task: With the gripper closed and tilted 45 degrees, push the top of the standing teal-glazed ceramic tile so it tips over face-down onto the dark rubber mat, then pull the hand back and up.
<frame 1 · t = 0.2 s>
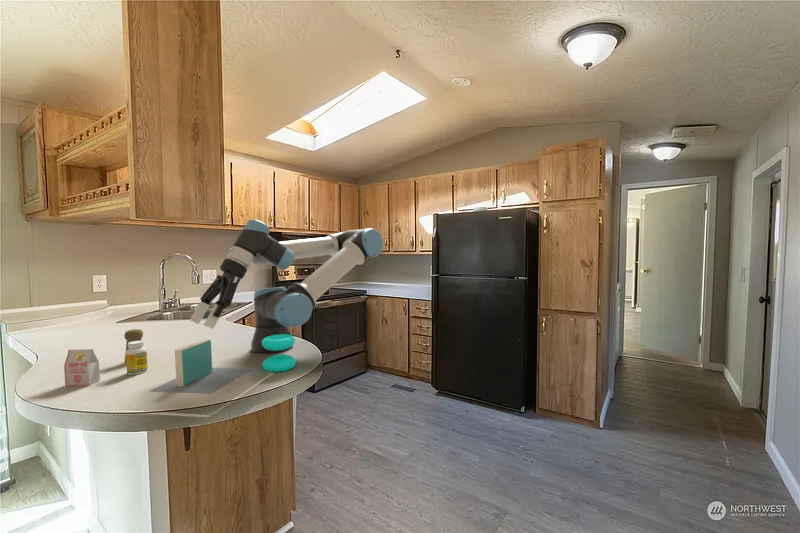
hand: (200, 324, 111), 15 cm above the counter, tool tilted 35°, fingers open, 13 cm apart
supplement bottle: (137, 373, 116), on the counter
white gable carton: (83, 384, 107), on the counter
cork: (135, 362, 128), on the counter
donuts: (279, 368, 117), on the counter
tile: (195, 378, 107), resting on mat
mat: (204, 380, 107), on the counter
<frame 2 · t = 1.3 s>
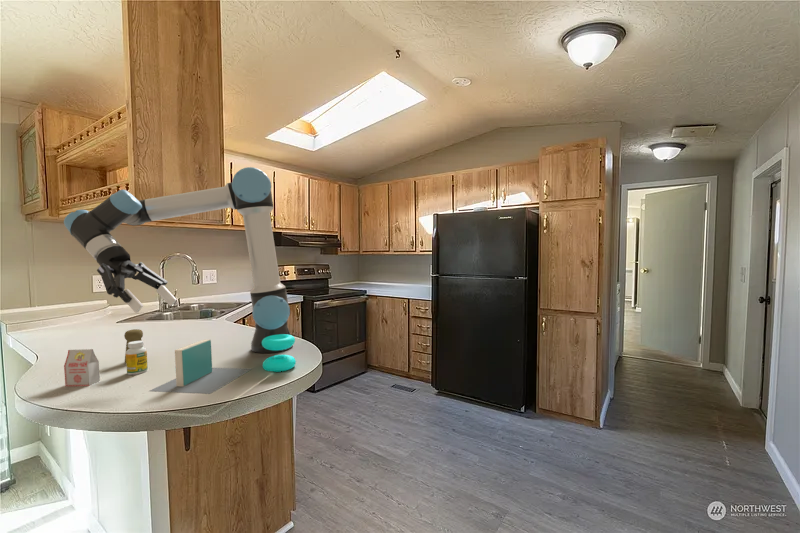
hand: (157, 305, 108), 22 cm above the counter, tool tilted 45°, fingers open, 12 cm apart
nothing on the counter moved.
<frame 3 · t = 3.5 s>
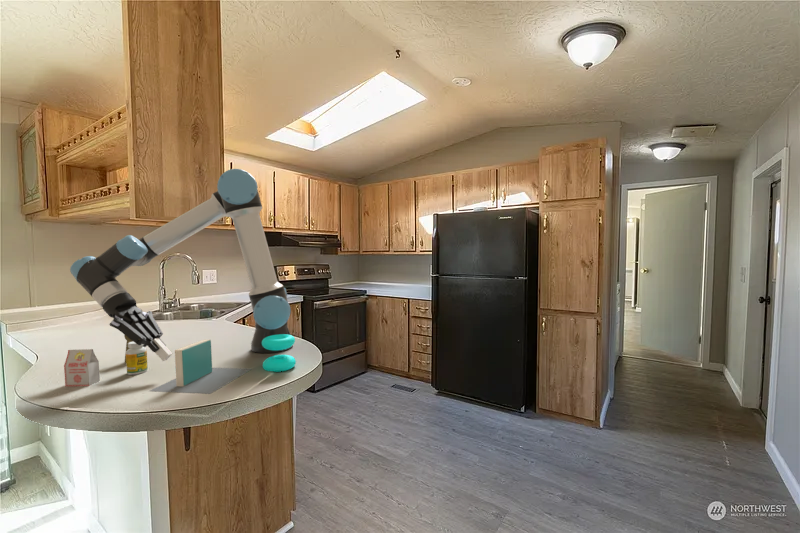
hand: (167, 357, 108), 7 cm above the counter, tool tilted 45°, fingers closed
nothing on the counter moved.
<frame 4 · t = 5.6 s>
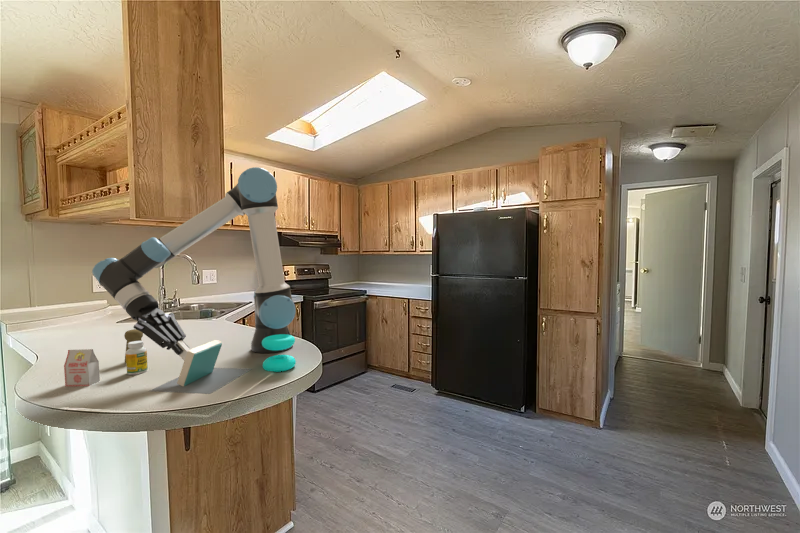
hand: (191, 360, 107), 6 cm above the counter, tool tilted 45°, fingers closed
tile: (195, 377, 107), point 1 cm above the counter, tilted 22°, touching mat
everything else where it was.
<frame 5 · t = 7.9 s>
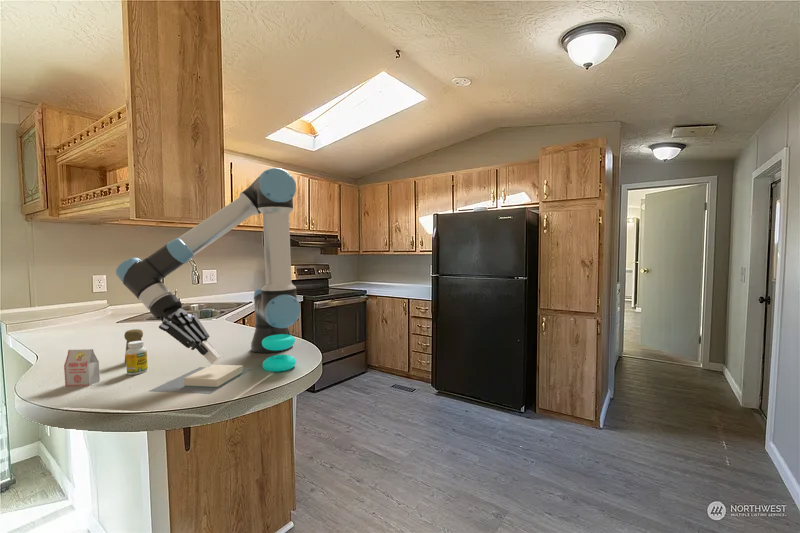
hand: (216, 360, 106), 6 cm above the counter, tool tilted 45°, fingers closed
tile: (198, 374, 107), point 2 cm above the counter, tilted 90°, touching mat
everything else where it was.
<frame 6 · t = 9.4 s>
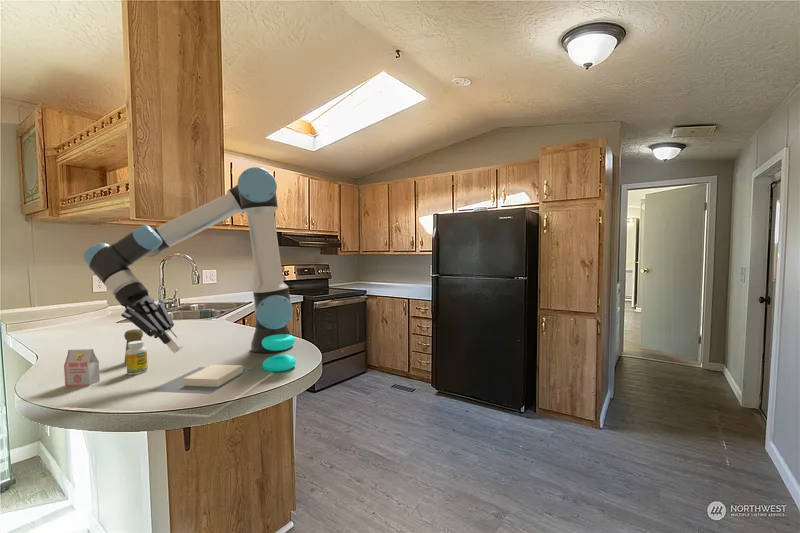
hand: (178, 349, 108), 9 cm above the counter, tool tilted 40°, fingers closed
nothing on the counter moved.
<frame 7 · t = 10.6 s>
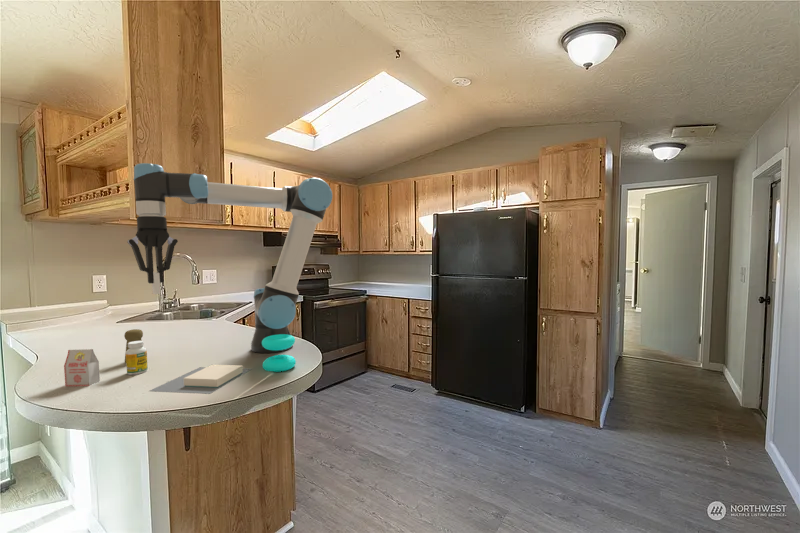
hand: (156, 293, 114), 25 cm above the counter, tool pointing down, fingers closed
nothing on the counter moved.
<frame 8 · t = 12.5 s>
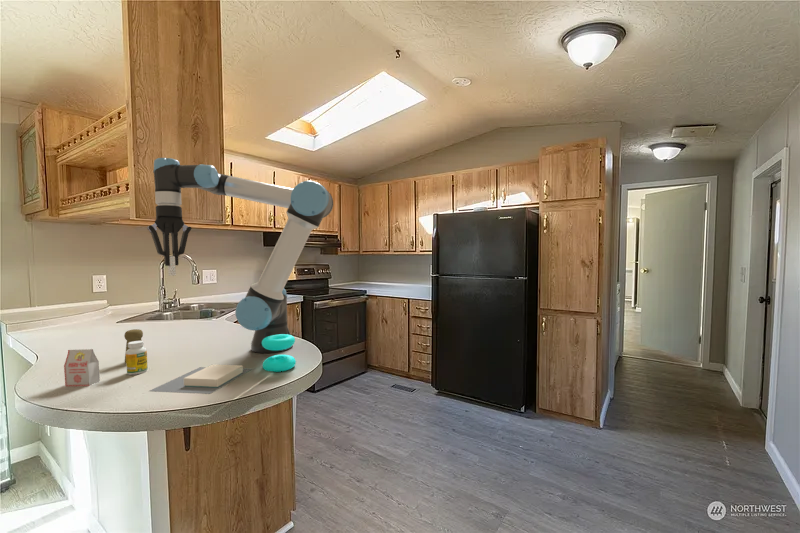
hand: (172, 275, 127), 29 cm above the counter, tool pointing down, fingers closed
nothing on the counter moved.
at the end: tile tilted 90°; tile inside the target area on the mat (1.7 cm from its centre), point 1.8 cm above the mat's base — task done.
